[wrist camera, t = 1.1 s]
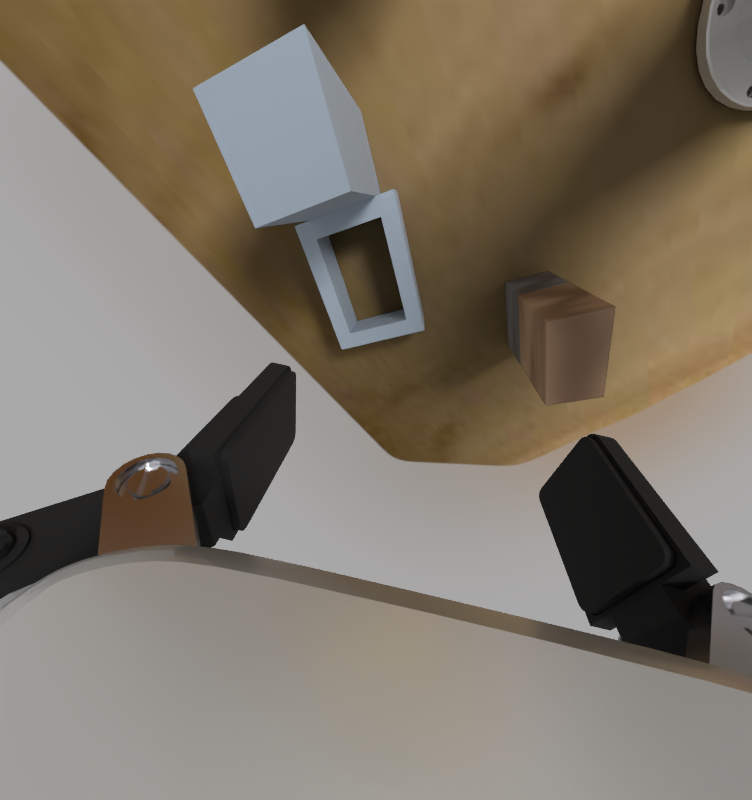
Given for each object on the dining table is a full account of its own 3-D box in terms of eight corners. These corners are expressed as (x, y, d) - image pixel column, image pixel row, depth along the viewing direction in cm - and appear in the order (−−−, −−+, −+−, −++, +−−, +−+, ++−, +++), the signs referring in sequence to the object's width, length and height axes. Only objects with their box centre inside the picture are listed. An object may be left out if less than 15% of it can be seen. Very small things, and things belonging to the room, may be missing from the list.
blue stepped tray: (378, 103, 23) (336, 5, 12) (424, 317, 32) (425, 379, 21) (281, 147, 26) (168, 102, 14) (349, 336, 35) (313, 401, 23)
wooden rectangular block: (548, 271, 28) (615, 306, 19) (547, 337, 32) (604, 396, 22) (504, 282, 30) (546, 321, 20) (508, 345, 33) (545, 405, 23)
